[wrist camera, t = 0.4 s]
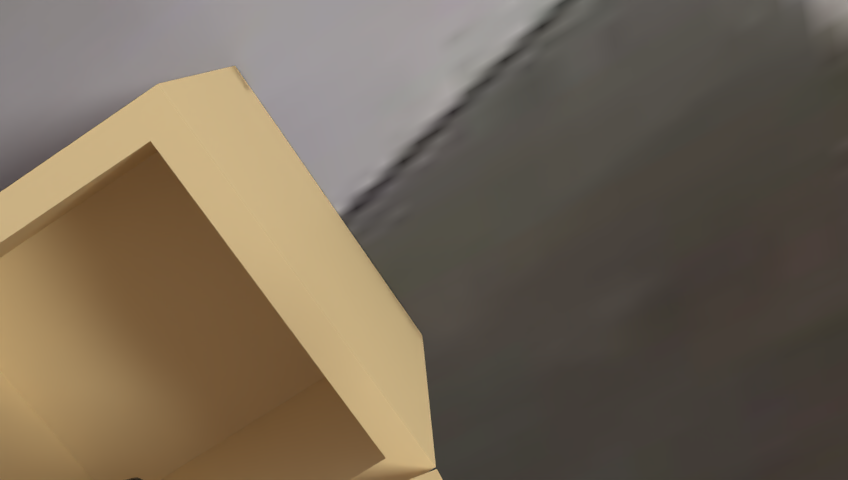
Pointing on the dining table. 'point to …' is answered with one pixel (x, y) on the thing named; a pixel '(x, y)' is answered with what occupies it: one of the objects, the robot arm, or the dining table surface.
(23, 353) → the cardboard box
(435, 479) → the box lid
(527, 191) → the dining table surface
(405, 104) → the dining table surface
